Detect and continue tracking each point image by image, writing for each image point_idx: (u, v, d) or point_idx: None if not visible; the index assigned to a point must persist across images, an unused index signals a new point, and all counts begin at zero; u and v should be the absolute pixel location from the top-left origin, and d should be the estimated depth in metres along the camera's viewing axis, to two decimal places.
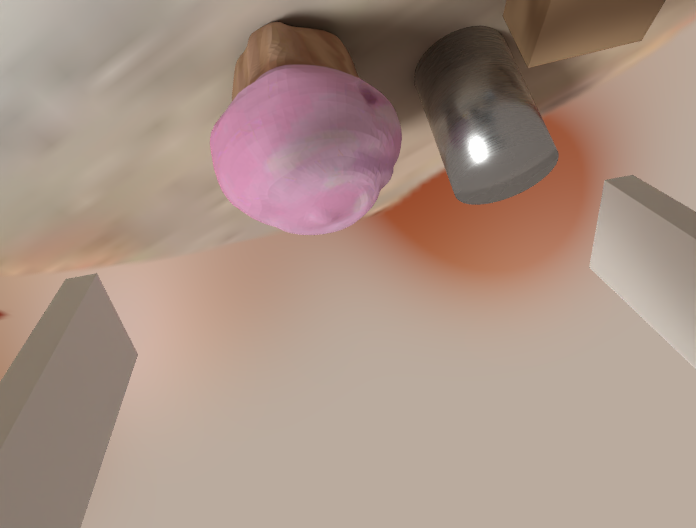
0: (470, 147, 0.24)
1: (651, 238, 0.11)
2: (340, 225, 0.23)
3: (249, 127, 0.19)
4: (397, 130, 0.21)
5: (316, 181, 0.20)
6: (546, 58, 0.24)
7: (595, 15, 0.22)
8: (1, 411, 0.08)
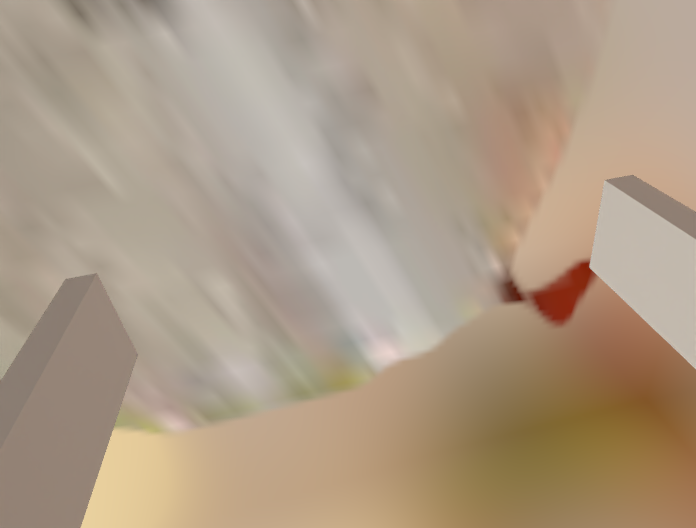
0: None
1: (651, 238, 0.11)
2: None
3: None
4: None
5: None
6: None
7: None
8: (1, 411, 0.08)
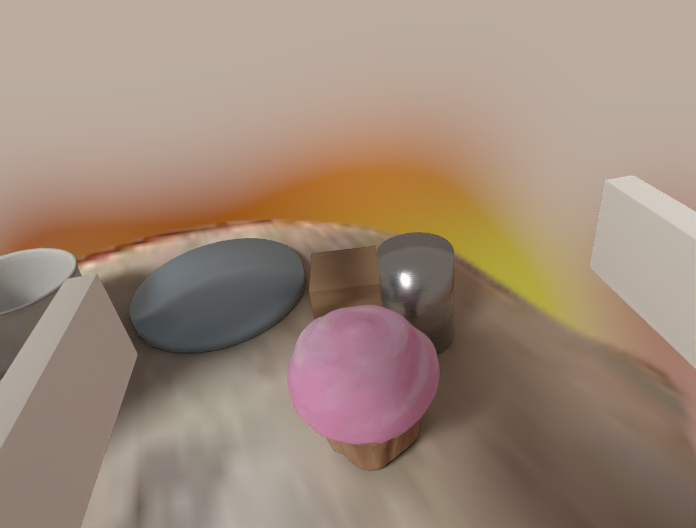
0: (388, 280, 0.34)
1: (651, 238, 0.11)
2: (392, 320, 0.27)
3: (291, 388, 0.27)
4: None
5: (317, 333, 0.27)
6: (375, 278, 0.40)
7: (349, 269, 0.42)
8: (1, 411, 0.08)
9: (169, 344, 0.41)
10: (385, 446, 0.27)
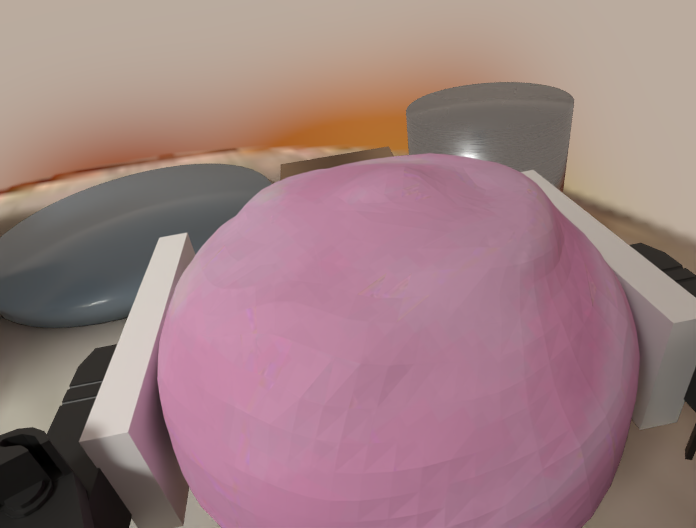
0: None
1: None
2: (487, 173, 0.08)
3: None
4: None
5: (247, 215, 0.08)
6: None
7: None
8: (138, 337, 0.09)
9: (23, 312, 0.23)
10: None
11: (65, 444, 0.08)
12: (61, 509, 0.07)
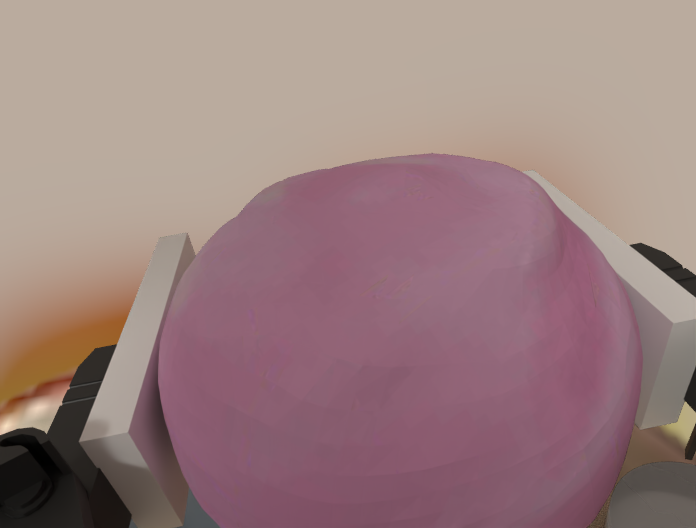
0: None
1: None
2: (489, 173, 0.08)
3: None
4: None
5: (248, 215, 0.08)
6: None
7: None
8: (138, 337, 0.09)
9: None
10: None
11: (65, 443, 0.08)
12: (61, 509, 0.07)
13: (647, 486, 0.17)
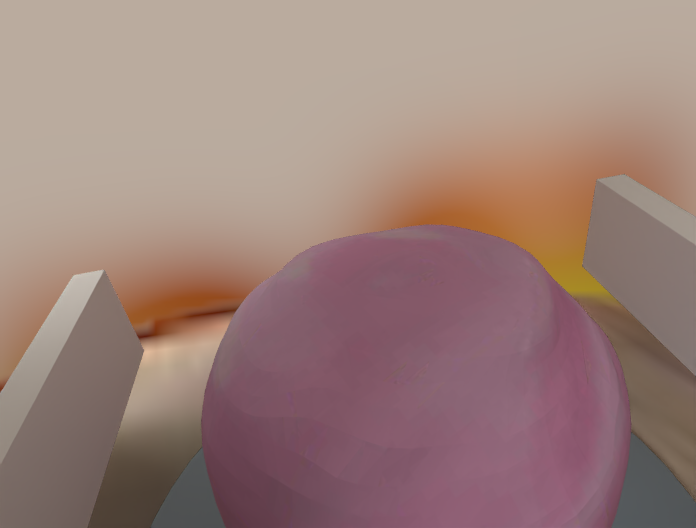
0: None
1: (642, 237, 0.11)
2: (493, 252, 0.09)
3: None
4: None
5: (279, 292, 0.09)
6: None
7: None
8: (13, 404, 0.08)
9: None
10: None
11: None
12: None
13: None
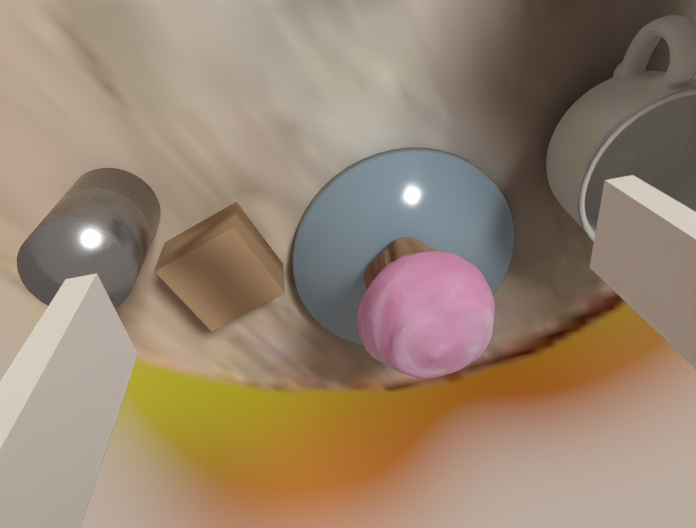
0: (105, 225, 0.25)
1: (651, 238, 0.11)
2: (407, 363, 0.29)
3: (489, 289, 0.29)
4: None
5: (476, 341, 0.29)
6: (167, 278, 0.31)
7: (211, 281, 0.32)
8: (1, 411, 0.08)
9: (428, 152, 0.32)
10: (395, 256, 0.32)
11: None
12: None
13: (109, 297, 0.26)
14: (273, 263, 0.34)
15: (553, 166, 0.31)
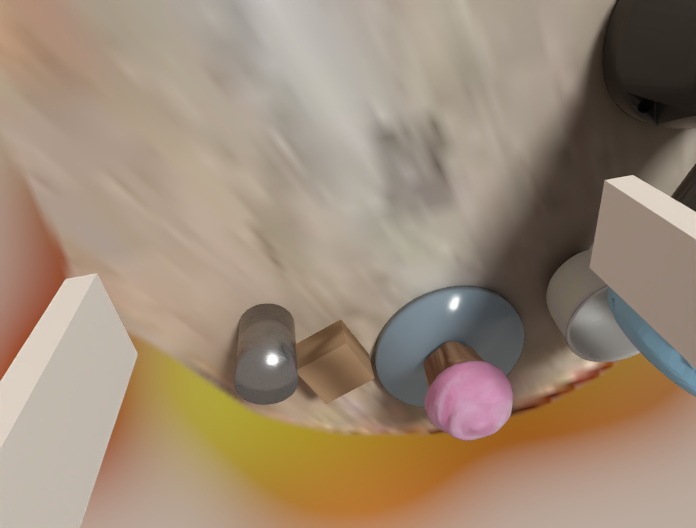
0: (284, 355, 0.43)
1: (651, 238, 0.11)
2: (459, 433, 0.46)
3: (510, 385, 0.47)
4: None
5: (501, 419, 0.46)
6: (302, 374, 0.49)
7: (329, 374, 0.49)
8: (1, 411, 0.08)
9: (469, 290, 0.50)
10: (448, 358, 0.49)
11: None
12: None
13: (281, 394, 0.44)
14: (365, 357, 0.51)
15: (551, 302, 0.49)
